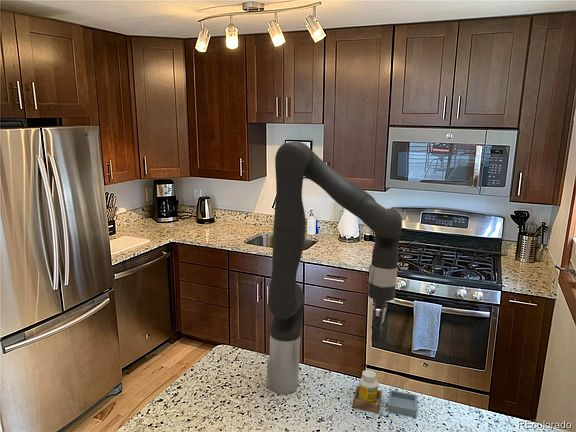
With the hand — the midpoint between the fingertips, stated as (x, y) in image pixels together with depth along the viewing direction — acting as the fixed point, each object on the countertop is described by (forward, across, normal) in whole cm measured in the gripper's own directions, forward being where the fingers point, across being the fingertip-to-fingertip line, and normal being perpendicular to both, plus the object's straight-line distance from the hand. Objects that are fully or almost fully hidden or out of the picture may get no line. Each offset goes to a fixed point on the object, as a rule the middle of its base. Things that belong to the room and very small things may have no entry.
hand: (376, 334), depth 125 cm
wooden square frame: (+22, 0, -1) cm, 22 cm away
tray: (+22, -2, +9) cm, 24 cm away
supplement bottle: (+22, 0, -1) cm, 22 cm away
